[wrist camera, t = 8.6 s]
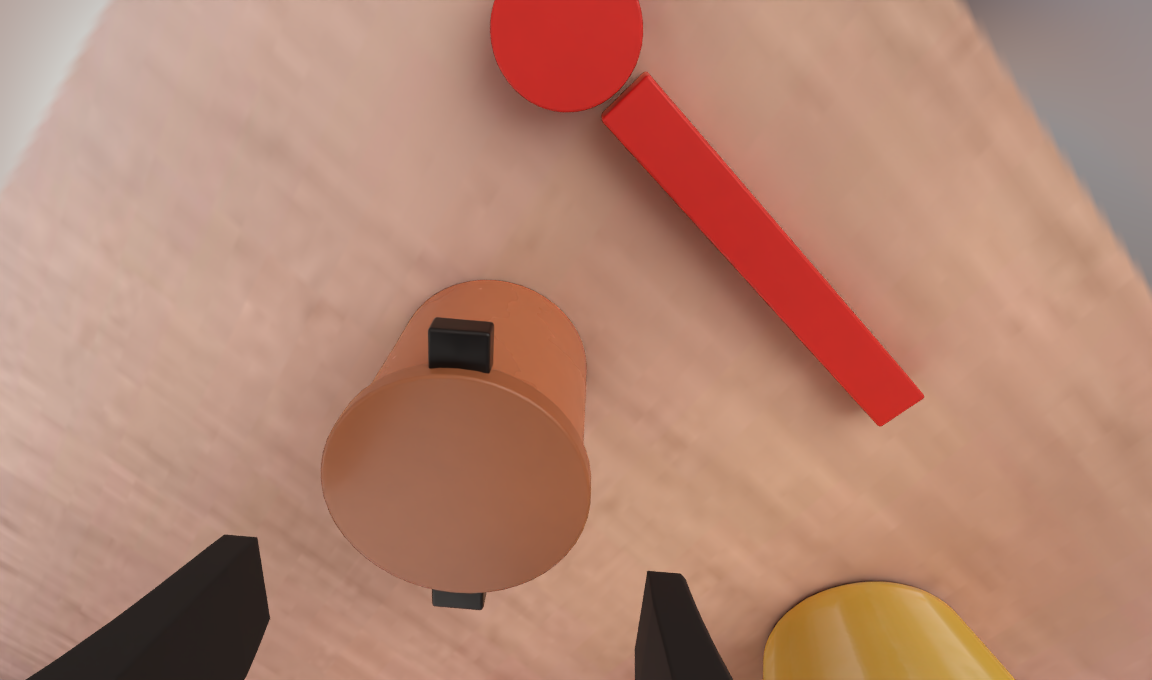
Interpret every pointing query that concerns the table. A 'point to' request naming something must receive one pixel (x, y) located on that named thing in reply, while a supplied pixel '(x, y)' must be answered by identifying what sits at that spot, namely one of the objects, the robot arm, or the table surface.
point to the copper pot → (467, 446)
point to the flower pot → (876, 638)
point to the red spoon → (689, 176)
